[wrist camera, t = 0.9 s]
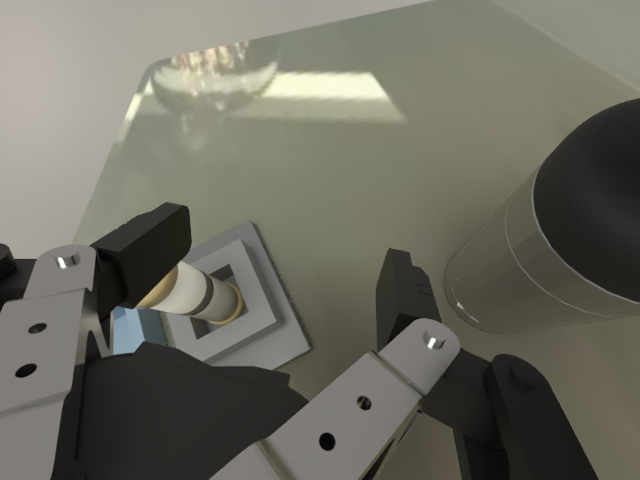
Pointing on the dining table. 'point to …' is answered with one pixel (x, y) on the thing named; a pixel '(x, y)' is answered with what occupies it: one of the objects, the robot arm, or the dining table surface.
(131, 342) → the parts tray
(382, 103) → the dining table surface
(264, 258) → the block
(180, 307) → the capped white cylinder
